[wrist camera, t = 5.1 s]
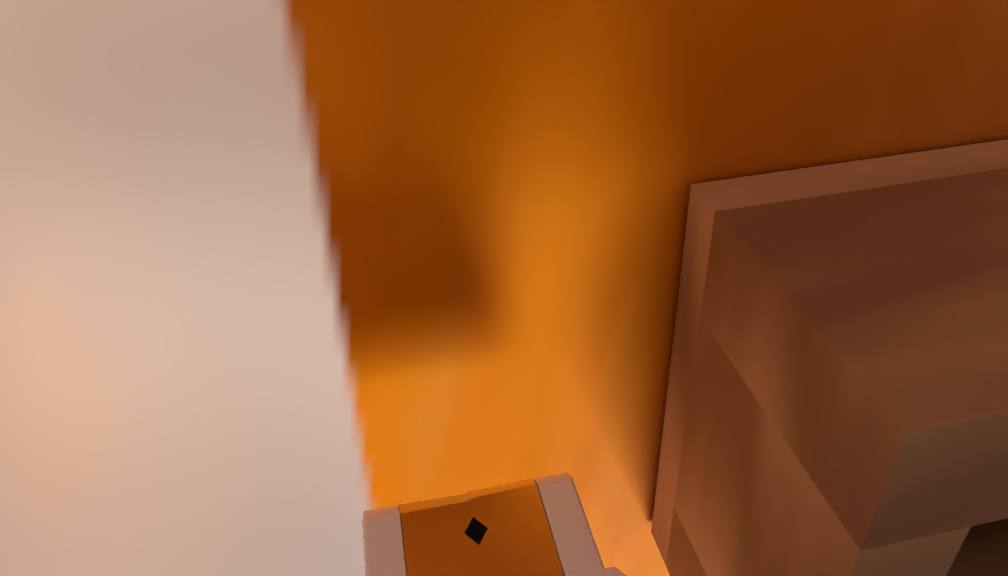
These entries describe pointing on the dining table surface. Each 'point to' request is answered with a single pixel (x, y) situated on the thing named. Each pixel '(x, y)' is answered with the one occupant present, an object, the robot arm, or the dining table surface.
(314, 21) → the dining table surface
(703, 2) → the dining table surface
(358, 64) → the dining table surface
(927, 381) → the walnut block
